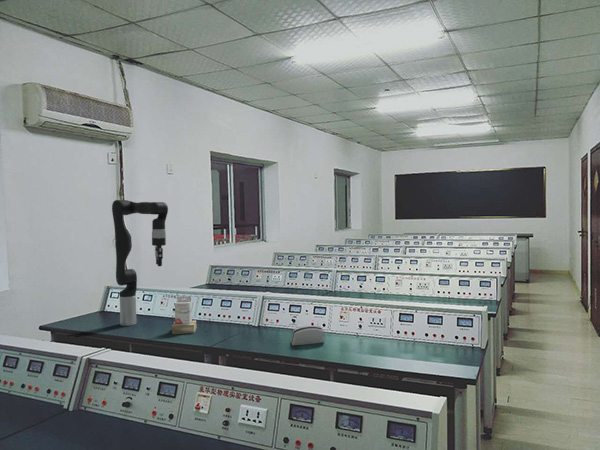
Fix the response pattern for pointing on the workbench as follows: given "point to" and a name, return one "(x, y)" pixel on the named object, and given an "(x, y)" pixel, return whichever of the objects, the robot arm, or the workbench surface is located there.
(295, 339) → the grey arched block
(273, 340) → the workbench surface
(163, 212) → the robot arm
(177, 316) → the ink cartridge box
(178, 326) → the birch block
